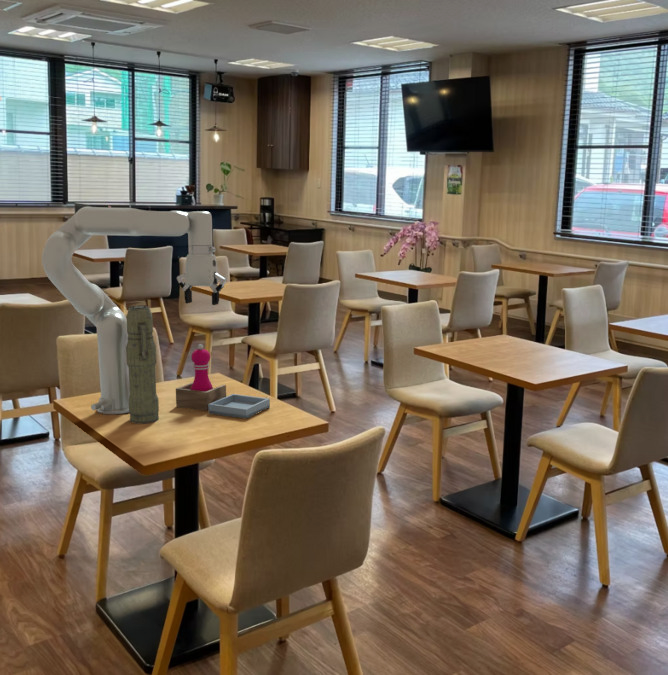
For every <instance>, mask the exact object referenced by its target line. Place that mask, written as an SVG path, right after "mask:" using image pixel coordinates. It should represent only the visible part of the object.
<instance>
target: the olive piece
mask: <svg viewBox="0 0 668 675" xmlns="http://www.w3.org/2000/svg"><path fill="white" fill-rule="evenodd" d="M126 319H127V333H128V342H127V345H126V358H127V365H128V367H129V385H130V396H129V412H128V413H129V421H130V422H131V423H132V422H133V424H137V423H141V424H143V425H145V424H151V423H155V422H157V421H159V418H160V417H159V411H160V407H159V404H160V402H159V397H158V395H157V394H158V393H157V382H156V380H157V379H156V378H157V377H156V365H157V346H156V343H155V340H154V335H153V332H154V328H153V327H154V326H153V325H154V322H153V321H154V320H153V313H152V311H151V309H150V307H149V306H147V305H143V304H142V305H140V304H139V305H132V306H131V307H128V311H127V314H126Z"/></svg>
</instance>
